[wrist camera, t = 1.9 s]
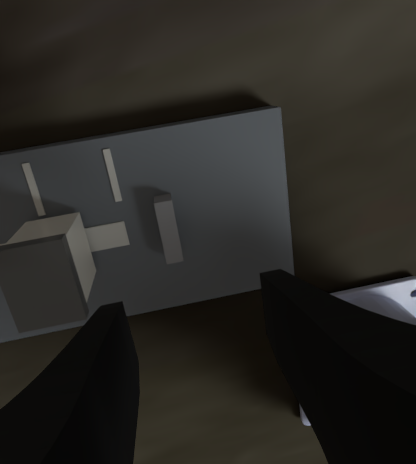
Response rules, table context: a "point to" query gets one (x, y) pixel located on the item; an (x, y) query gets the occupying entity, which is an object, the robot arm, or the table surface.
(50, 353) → the table surface
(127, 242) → the console
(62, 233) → the fader tab
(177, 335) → the table surface
